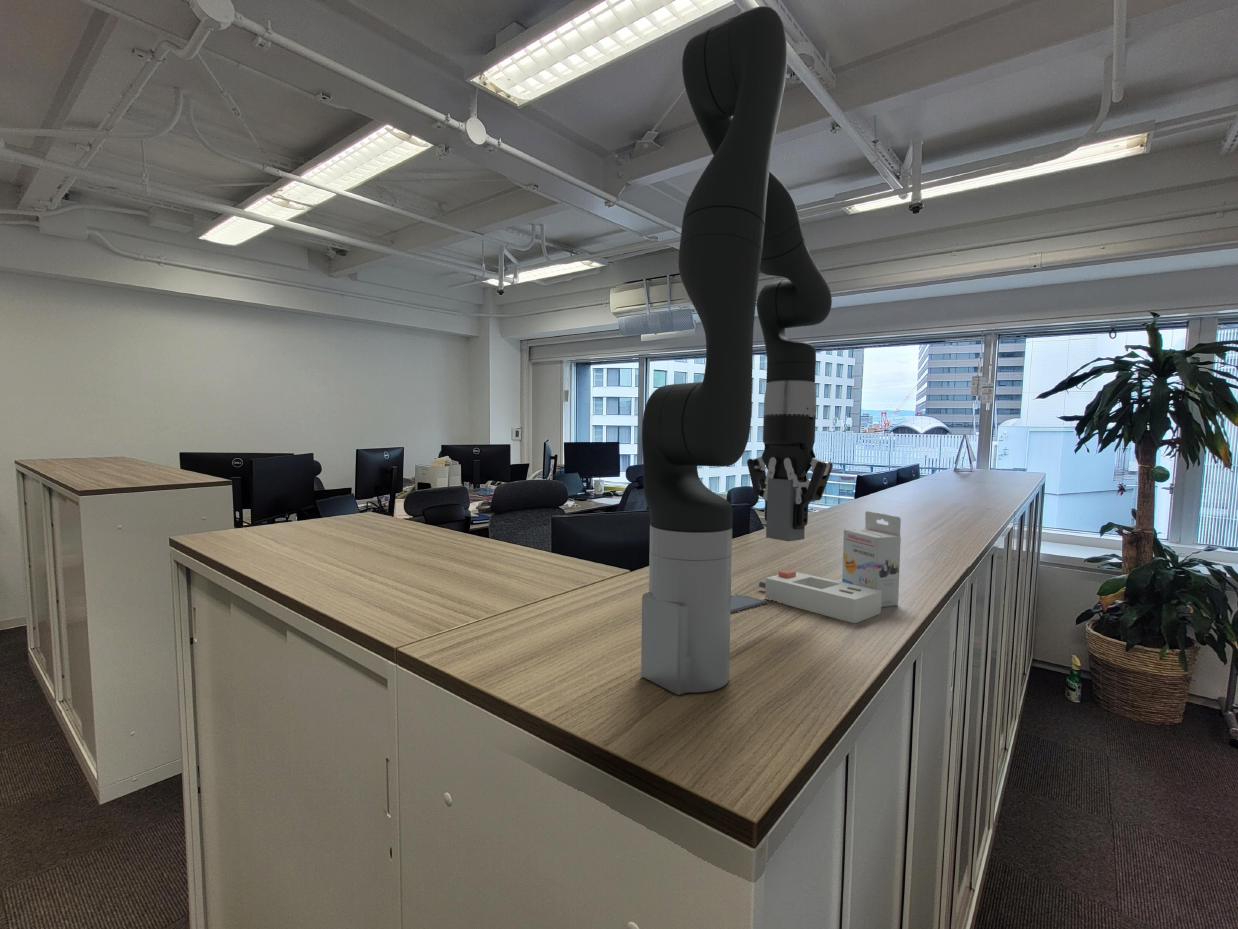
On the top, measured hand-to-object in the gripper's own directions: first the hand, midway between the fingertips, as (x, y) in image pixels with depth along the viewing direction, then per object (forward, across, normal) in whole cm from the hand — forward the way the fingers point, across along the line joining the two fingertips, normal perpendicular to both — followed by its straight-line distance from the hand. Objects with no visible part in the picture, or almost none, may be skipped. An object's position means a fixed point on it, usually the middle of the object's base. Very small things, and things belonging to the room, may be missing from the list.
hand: (785, 526), depth 85 cm
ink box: (+14, +3, +20) cm, 25 cm away
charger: (+2, 0, 0) cm, 2 cm away
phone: (+15, -9, -2) cm, 17 cm away
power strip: (+14, -2, +11) cm, 17 cm away
